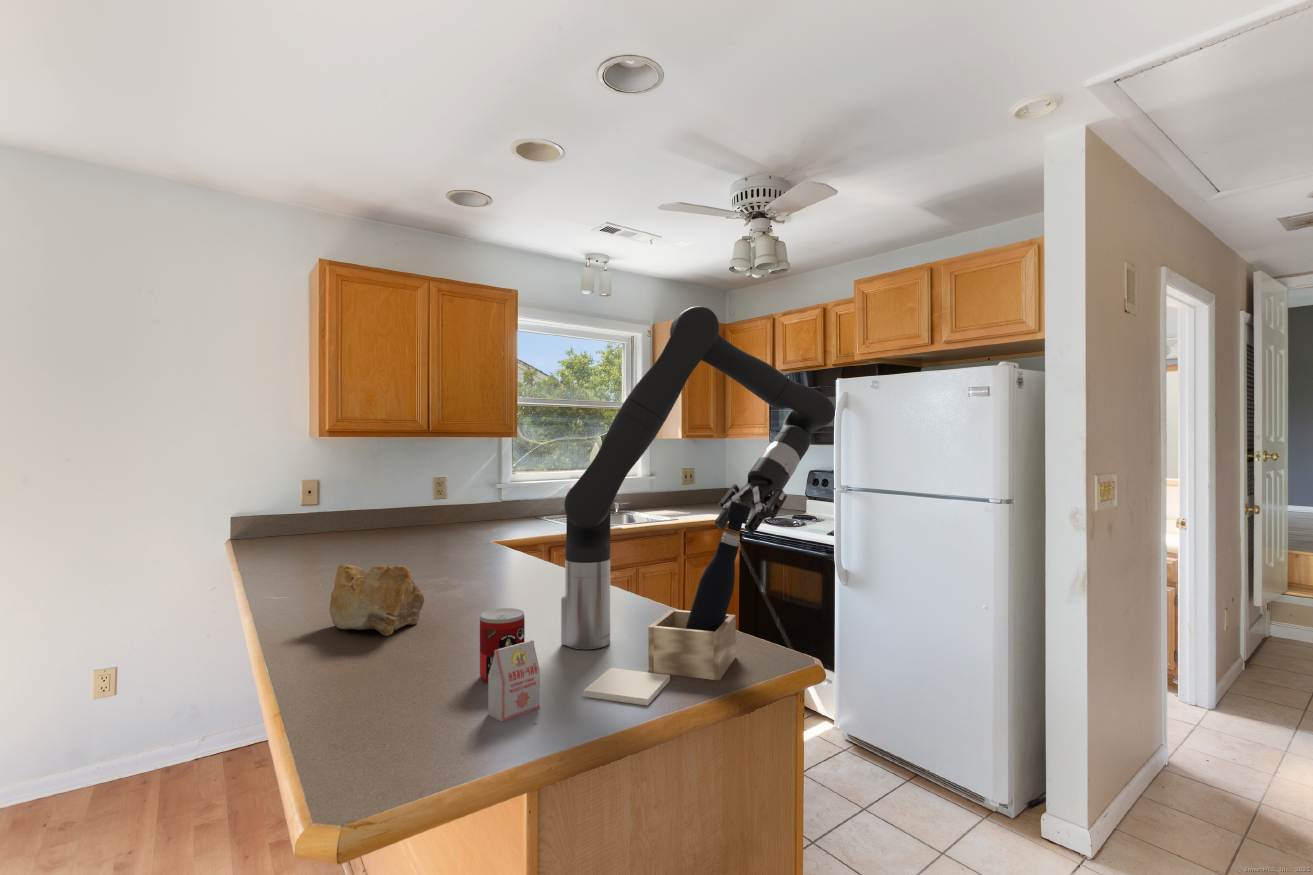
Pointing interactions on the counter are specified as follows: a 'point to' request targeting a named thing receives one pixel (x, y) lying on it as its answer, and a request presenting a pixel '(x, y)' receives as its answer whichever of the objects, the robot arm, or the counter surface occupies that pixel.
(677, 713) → the counter surface
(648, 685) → the cream tile
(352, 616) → the rough brown rock
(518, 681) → the white paper bag
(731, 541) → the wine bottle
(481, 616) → the canned food
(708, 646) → the pine crate
